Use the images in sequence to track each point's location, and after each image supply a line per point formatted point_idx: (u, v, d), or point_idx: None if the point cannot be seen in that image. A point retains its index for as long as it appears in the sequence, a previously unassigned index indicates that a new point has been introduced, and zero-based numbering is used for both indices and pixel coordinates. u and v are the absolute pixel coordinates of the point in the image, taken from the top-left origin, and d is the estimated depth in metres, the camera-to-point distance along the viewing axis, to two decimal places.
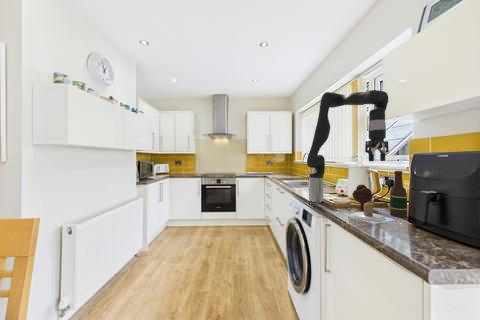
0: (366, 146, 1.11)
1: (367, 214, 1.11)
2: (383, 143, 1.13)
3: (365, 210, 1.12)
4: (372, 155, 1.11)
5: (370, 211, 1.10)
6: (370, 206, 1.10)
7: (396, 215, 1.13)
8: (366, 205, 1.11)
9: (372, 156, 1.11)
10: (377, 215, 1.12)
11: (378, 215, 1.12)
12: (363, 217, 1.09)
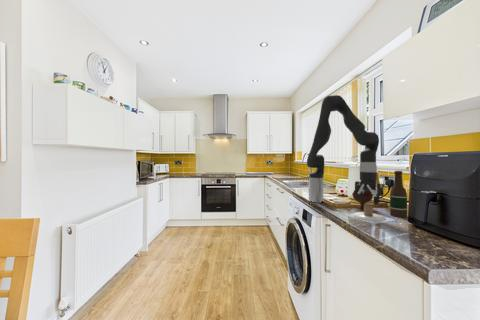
0: (380, 189, 1.05)
1: (367, 214, 1.11)
2: None
3: (365, 210, 1.12)
4: None
5: (370, 211, 1.10)
6: (370, 206, 1.10)
7: (396, 215, 1.13)
8: (366, 205, 1.11)
9: None
10: (377, 215, 1.12)
11: (378, 215, 1.12)
12: (363, 217, 1.09)
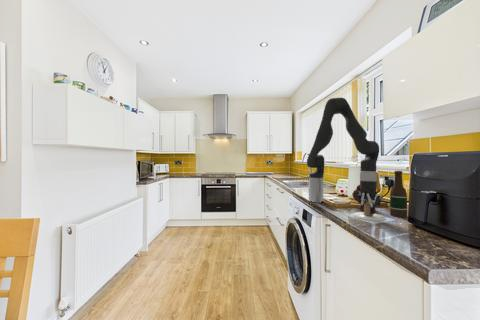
0: (378, 201, 1.07)
1: (367, 214, 1.11)
2: None
3: (365, 210, 1.12)
4: None
5: None
6: (370, 206, 1.10)
7: (396, 215, 1.13)
8: (366, 205, 1.11)
9: None
10: (377, 215, 1.13)
11: (378, 215, 1.12)
12: (363, 217, 1.09)
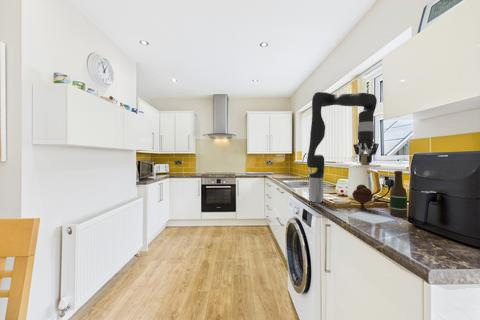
0: (374, 149, 1.13)
1: (364, 163, 1.17)
2: None
3: (362, 159, 1.18)
4: None
5: None
6: (367, 155, 1.17)
7: (396, 215, 1.13)
8: (363, 154, 1.18)
9: None
10: None
11: None
12: (360, 165, 1.15)
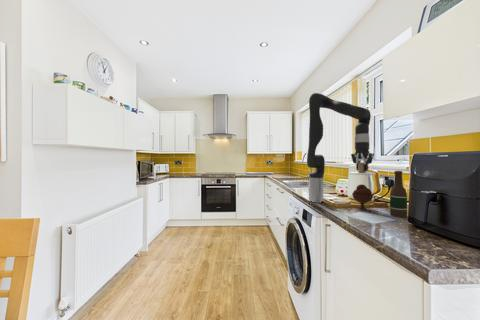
0: (370, 158, 1.24)
1: (361, 171, 1.29)
2: None
3: (359, 168, 1.29)
4: None
5: (363, 168, 1.28)
6: (363, 164, 1.28)
7: (396, 215, 1.13)
8: (360, 163, 1.29)
9: None
10: (370, 172, 1.30)
11: (370, 172, 1.30)
12: (357, 173, 1.27)
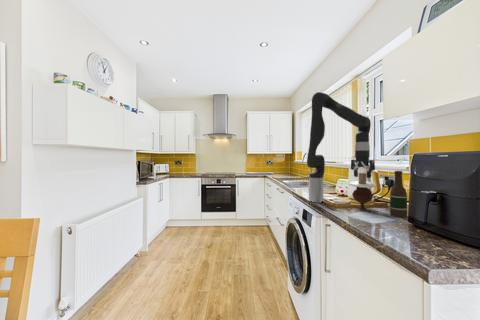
0: (372, 165, 1.23)
1: (361, 182, 1.28)
2: None
3: (359, 179, 1.29)
4: None
5: (364, 179, 1.28)
6: (364, 175, 1.27)
7: (396, 215, 1.13)
8: (360, 174, 1.28)
9: None
10: (370, 183, 1.30)
11: (371, 183, 1.30)
12: (357, 185, 1.27)
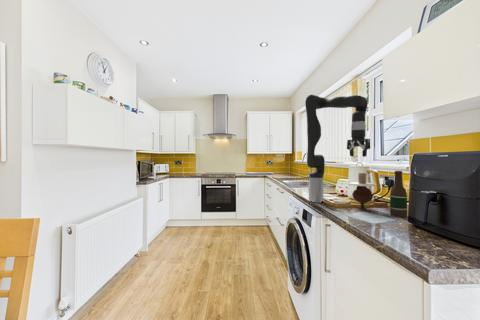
0: (368, 143, 1.26)
1: (361, 182, 1.29)
2: None
3: (359, 178, 1.29)
4: None
5: (363, 179, 1.28)
6: (363, 175, 1.28)
7: (396, 215, 1.13)
8: (360, 174, 1.29)
9: None
10: (370, 183, 1.30)
11: (371, 183, 1.30)
12: (357, 184, 1.27)
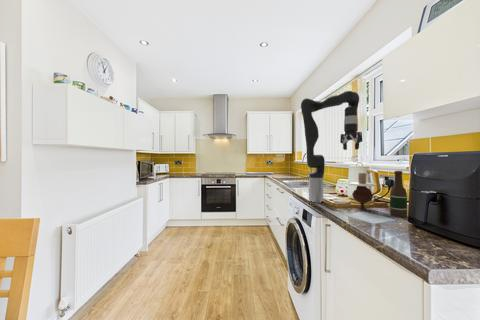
0: (359, 136, 1.31)
1: (361, 182, 1.29)
2: None
3: (359, 178, 1.30)
4: None
5: (364, 179, 1.28)
6: (364, 175, 1.28)
7: (396, 215, 1.13)
8: (360, 174, 1.29)
9: None
10: (370, 183, 1.30)
11: (371, 183, 1.30)
12: (357, 184, 1.27)
